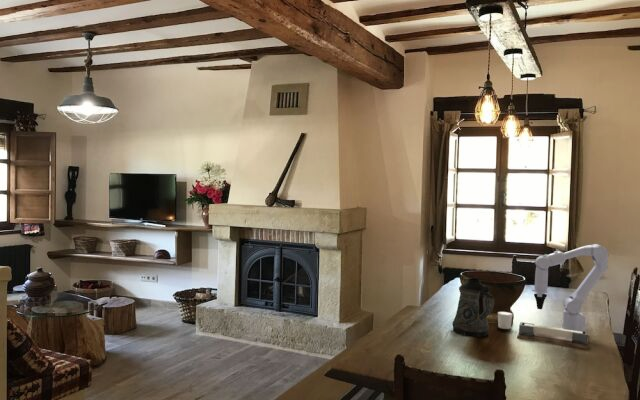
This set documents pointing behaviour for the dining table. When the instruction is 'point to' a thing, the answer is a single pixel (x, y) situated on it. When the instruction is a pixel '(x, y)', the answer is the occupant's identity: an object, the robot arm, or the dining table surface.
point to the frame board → (553, 340)
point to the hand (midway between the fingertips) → (539, 308)
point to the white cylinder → (504, 320)
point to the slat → (553, 331)
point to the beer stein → (473, 309)
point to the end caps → (576, 337)
